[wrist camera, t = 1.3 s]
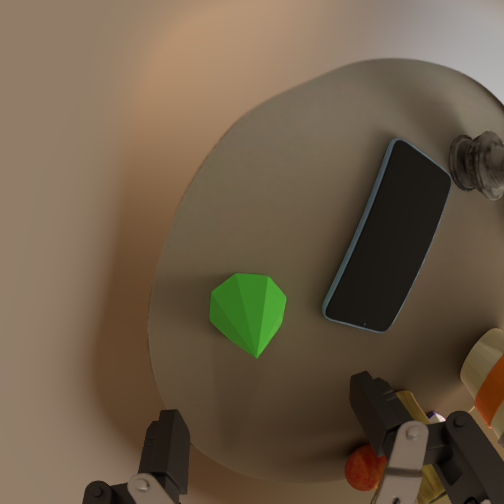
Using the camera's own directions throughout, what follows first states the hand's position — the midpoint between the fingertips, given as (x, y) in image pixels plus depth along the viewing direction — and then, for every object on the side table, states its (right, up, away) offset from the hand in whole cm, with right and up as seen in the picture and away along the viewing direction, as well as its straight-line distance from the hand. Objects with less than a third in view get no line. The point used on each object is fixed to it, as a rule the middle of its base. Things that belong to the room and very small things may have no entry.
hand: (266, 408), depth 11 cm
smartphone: (+10, +8, +9) cm, 16 cm away
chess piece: (+19, +15, +8) cm, 26 cm away
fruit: (+14, -20, +18) cm, 30 cm away
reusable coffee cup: (+31, -7, +16) cm, 36 cm away
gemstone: (-1, +3, +9) cm, 10 cm away
